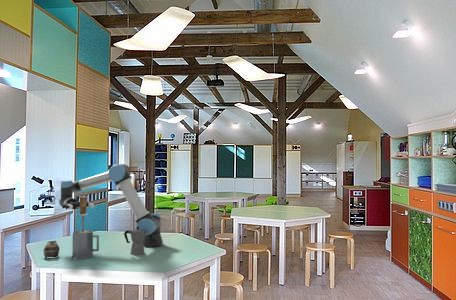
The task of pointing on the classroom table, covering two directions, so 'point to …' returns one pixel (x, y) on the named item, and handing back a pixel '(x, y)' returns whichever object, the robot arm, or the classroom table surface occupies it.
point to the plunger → (83, 212)
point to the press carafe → (84, 244)
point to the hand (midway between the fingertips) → (82, 206)
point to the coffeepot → (136, 241)
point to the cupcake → (51, 249)
